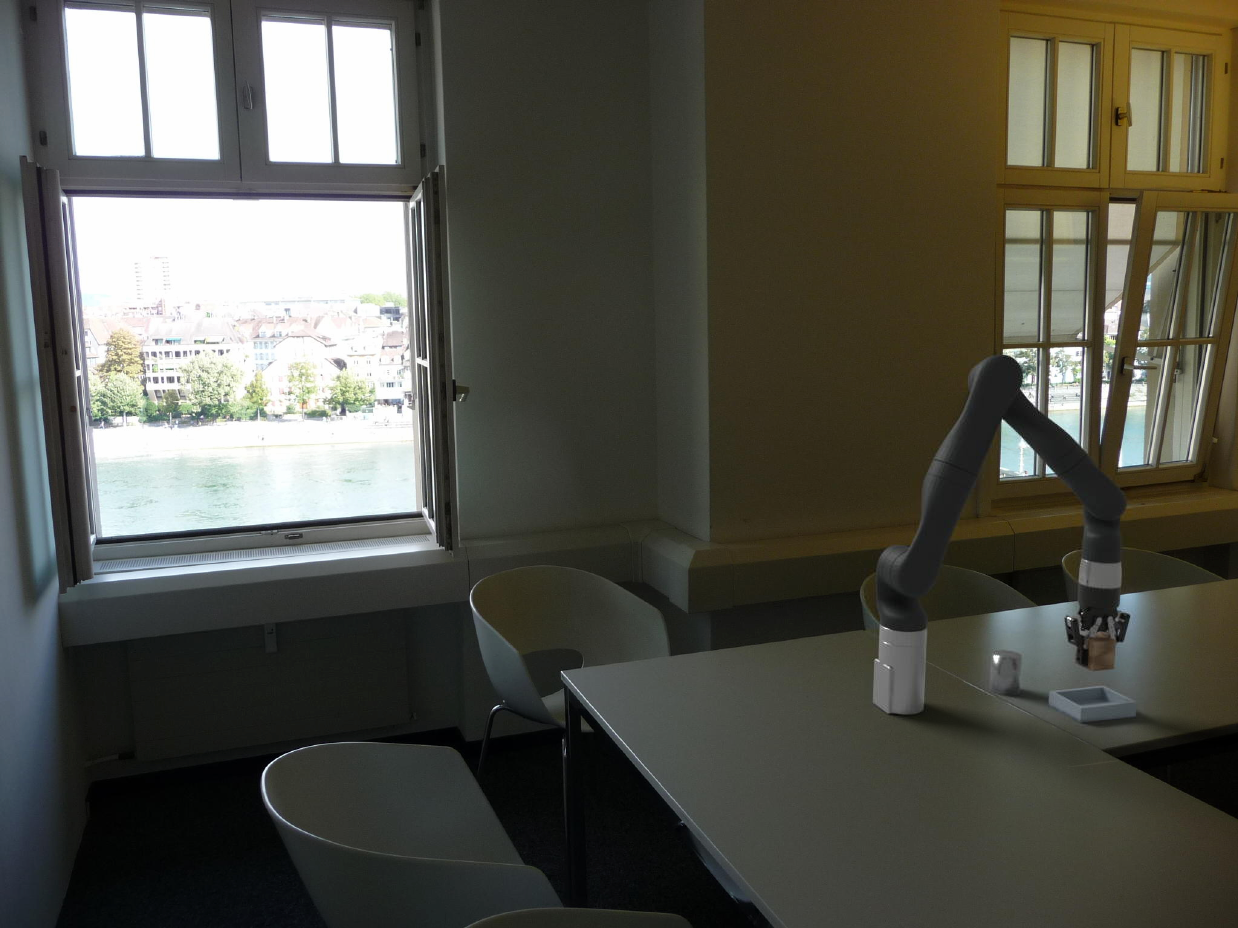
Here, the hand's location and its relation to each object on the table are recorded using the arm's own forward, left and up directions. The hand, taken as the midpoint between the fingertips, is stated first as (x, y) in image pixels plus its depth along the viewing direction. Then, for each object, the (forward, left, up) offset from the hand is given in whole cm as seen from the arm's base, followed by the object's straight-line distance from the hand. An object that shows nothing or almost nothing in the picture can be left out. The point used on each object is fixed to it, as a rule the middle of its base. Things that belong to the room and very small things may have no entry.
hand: (1094, 663), depth 191 cm
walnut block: (0, 0, 0) cm, 0 cm away
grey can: (-10, +14, -10) cm, 20 cm away
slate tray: (0, 0, -10) cm, 10 cm away
